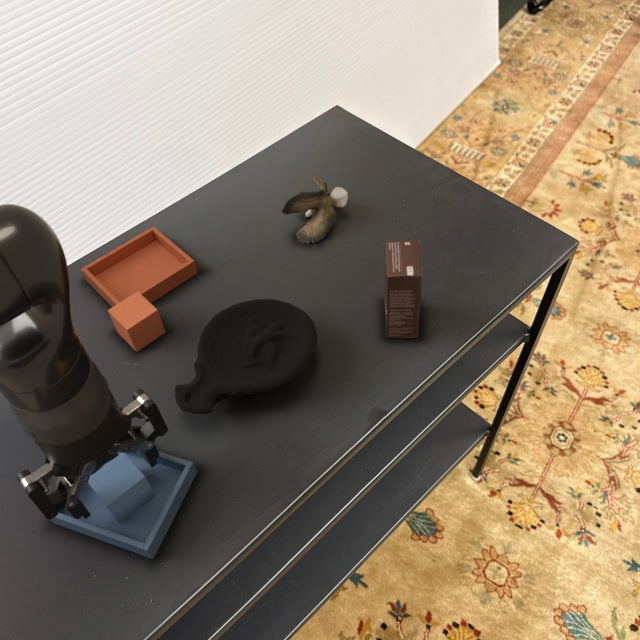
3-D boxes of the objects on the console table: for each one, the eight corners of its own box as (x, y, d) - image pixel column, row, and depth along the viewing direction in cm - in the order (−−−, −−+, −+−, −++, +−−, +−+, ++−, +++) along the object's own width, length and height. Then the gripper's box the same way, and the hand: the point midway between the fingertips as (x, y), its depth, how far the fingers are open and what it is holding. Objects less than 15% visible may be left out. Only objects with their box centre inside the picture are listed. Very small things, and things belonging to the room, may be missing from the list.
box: (382, 304, 87) (385, 239, 78) (415, 304, 87) (422, 238, 77) (383, 339, 83) (386, 275, 74) (418, 340, 83) (426, 275, 73)
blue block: (119, 524, 68) (106, 506, 65) (96, 495, 70) (83, 476, 67) (155, 495, 70) (145, 476, 67) (132, 467, 72) (120, 448, 69)
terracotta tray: (124, 319, 87) (119, 307, 85) (86, 280, 92) (80, 268, 90) (197, 273, 92) (194, 260, 90) (157, 238, 97) (153, 226, 95)
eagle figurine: (301, 191, 101) (270, 217, 95) (325, 162, 96) (294, 188, 89) (335, 225, 101) (307, 253, 95) (361, 199, 96) (333, 227, 90)
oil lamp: (147, 387, 80) (137, 364, 76) (263, 299, 88) (259, 274, 84) (225, 462, 73) (218, 440, 69) (343, 358, 81) (342, 334, 78)
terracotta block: (136, 352, 83) (127, 330, 80) (117, 332, 86) (107, 310, 82) (165, 332, 85) (157, 309, 82) (146, 313, 88) (137, 290, 84)
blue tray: (53, 523, 69) (44, 513, 67) (103, 442, 75) (96, 431, 73) (153, 559, 66) (147, 550, 64) (197, 472, 72) (193, 462, 70)
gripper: (113, 334, 61) (153, 422, 73) (-31, 427, 55) (39, 506, 67) (158, 381, 57) (192, 465, 70) (9, 487, 51) (76, 558, 64)
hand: (117, 485), depth 69 cm, fingers open, 7 cm apart
